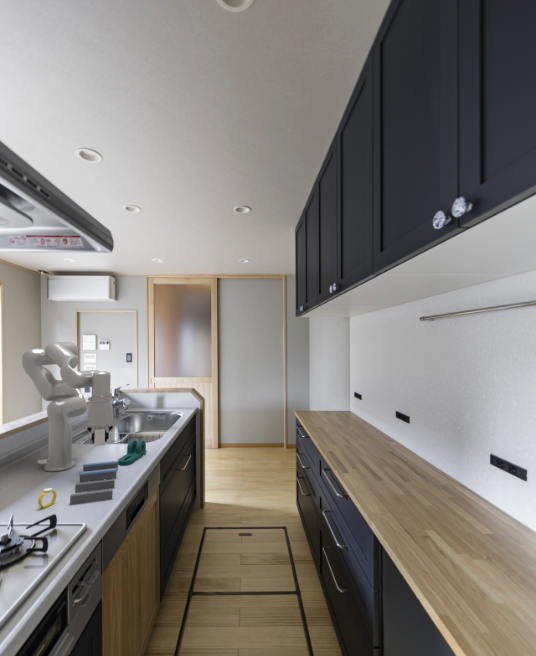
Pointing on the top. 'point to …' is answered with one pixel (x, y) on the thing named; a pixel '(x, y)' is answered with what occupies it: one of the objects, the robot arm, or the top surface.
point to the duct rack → (95, 482)
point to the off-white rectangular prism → (99, 436)
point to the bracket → (133, 453)
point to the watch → (44, 494)
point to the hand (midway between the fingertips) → (100, 441)
